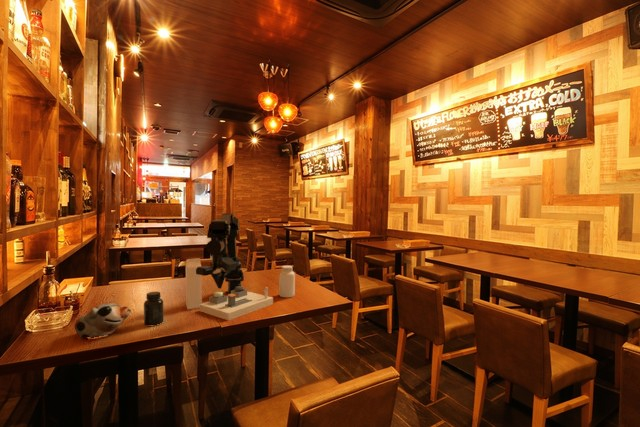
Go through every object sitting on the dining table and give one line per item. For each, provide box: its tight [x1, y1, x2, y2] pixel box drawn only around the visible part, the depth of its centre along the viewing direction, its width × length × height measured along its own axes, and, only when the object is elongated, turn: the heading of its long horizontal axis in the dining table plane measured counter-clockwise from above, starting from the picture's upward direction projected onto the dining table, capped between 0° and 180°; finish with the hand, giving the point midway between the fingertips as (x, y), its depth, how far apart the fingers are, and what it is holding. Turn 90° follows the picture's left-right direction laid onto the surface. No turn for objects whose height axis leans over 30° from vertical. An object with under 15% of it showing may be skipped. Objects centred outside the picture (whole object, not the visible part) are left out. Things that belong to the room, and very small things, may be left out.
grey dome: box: [235, 285, 244, 292], centre depth 156 cm, size 4×4×2 cm
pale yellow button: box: [213, 291, 224, 298], centre depth 146 cm, size 4×4×2 cm
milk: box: [185, 257, 203, 310], centre depth 148 cm, size 6×6×22 cm
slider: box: [227, 293, 236, 306], centre depth 141 cm, size 3×2×4 cm
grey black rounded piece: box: [73, 302, 132, 339], centre depth 118 cm, size 15×12×14 cm
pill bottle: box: [278, 265, 296, 299], centre depth 166 cm, size 8×8×15 cm
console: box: [199, 286, 274, 322], centre depth 147 cm, size 19×26×8 cm
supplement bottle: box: [143, 291, 164, 326], centre depth 128 cm, size 7×7×12 cm
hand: (219, 288), depth 135 cm, fingers closed
